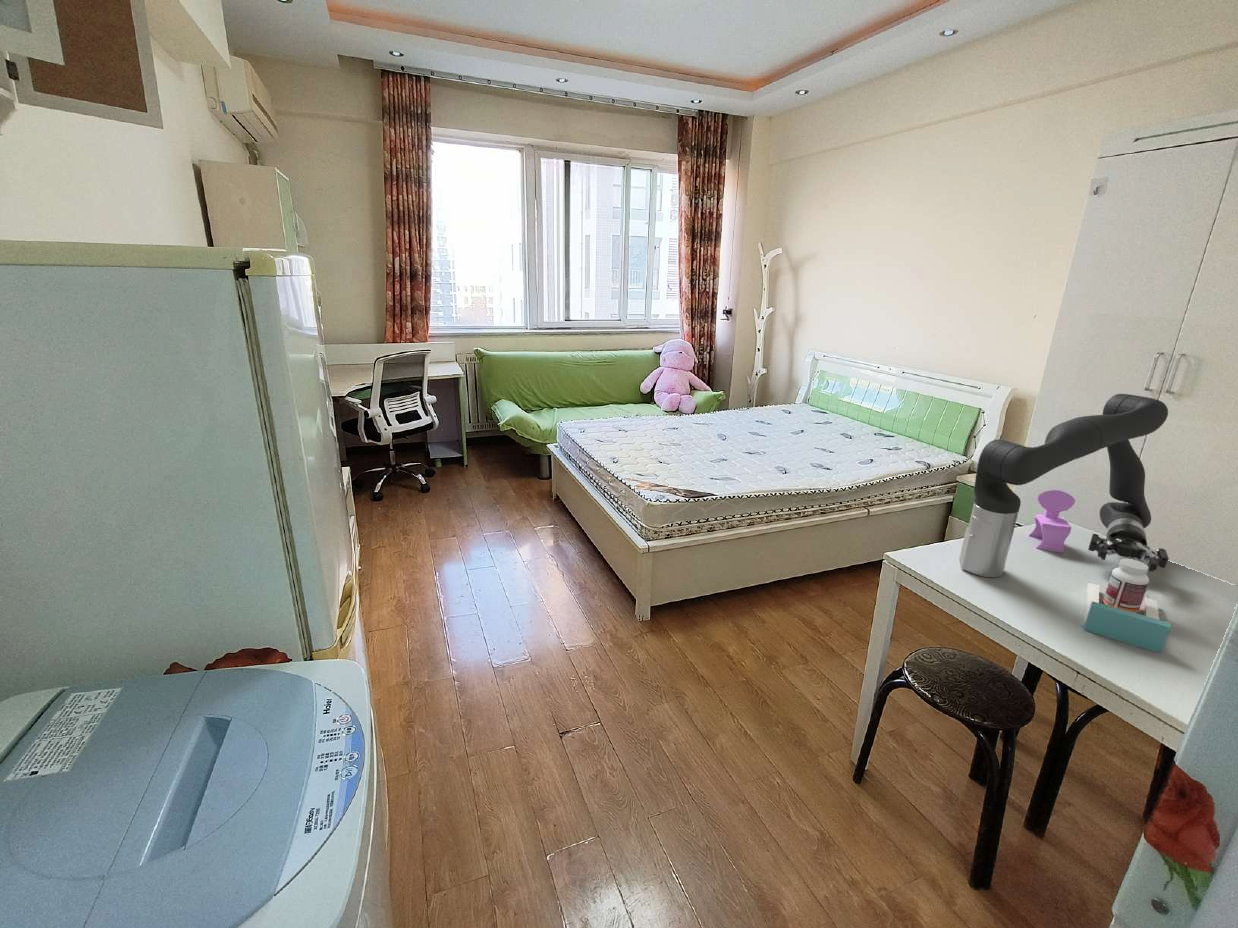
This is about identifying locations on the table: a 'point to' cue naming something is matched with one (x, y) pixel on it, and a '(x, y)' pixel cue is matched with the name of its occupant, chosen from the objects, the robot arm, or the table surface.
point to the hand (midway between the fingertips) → (1127, 561)
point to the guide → (1125, 622)
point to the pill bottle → (1127, 585)
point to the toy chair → (1053, 520)
